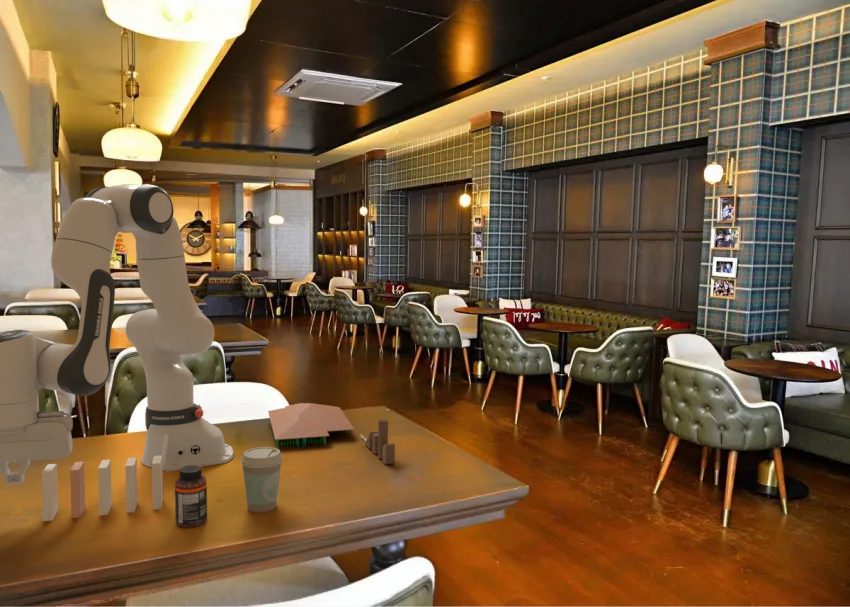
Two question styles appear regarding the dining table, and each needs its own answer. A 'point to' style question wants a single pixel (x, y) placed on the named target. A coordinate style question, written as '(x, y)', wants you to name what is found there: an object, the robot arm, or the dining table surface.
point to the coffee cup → (261, 477)
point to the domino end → (49, 492)
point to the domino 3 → (131, 485)
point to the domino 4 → (157, 482)
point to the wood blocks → (381, 443)
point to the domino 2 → (104, 487)
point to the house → (307, 422)
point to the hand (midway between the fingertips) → (14, 482)
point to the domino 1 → (77, 489)
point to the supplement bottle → (191, 497)
